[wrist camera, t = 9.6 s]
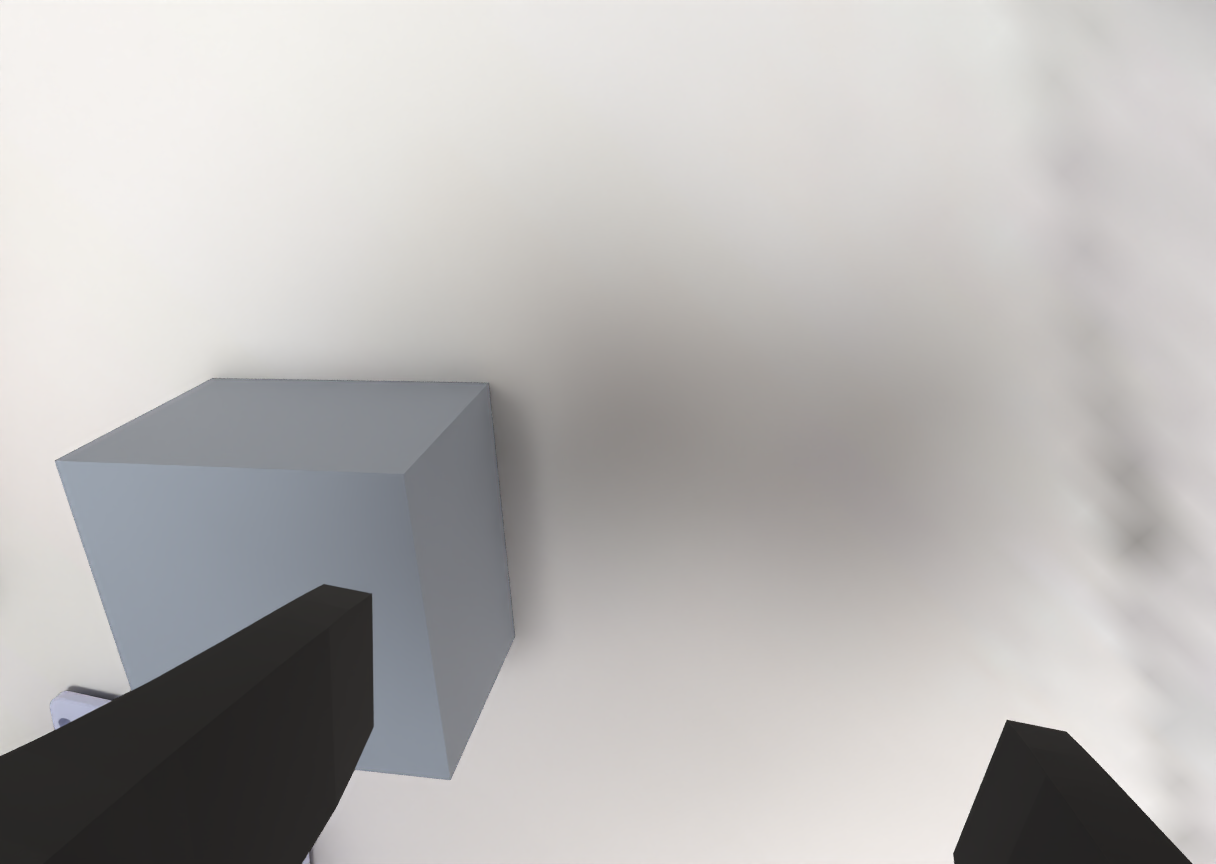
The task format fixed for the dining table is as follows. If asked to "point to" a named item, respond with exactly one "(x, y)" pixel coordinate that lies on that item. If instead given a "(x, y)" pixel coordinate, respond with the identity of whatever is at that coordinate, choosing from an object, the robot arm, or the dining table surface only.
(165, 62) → the dining table surface
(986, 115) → the dining table surface
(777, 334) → the dining table surface
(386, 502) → the slate block
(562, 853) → the dining table surface
